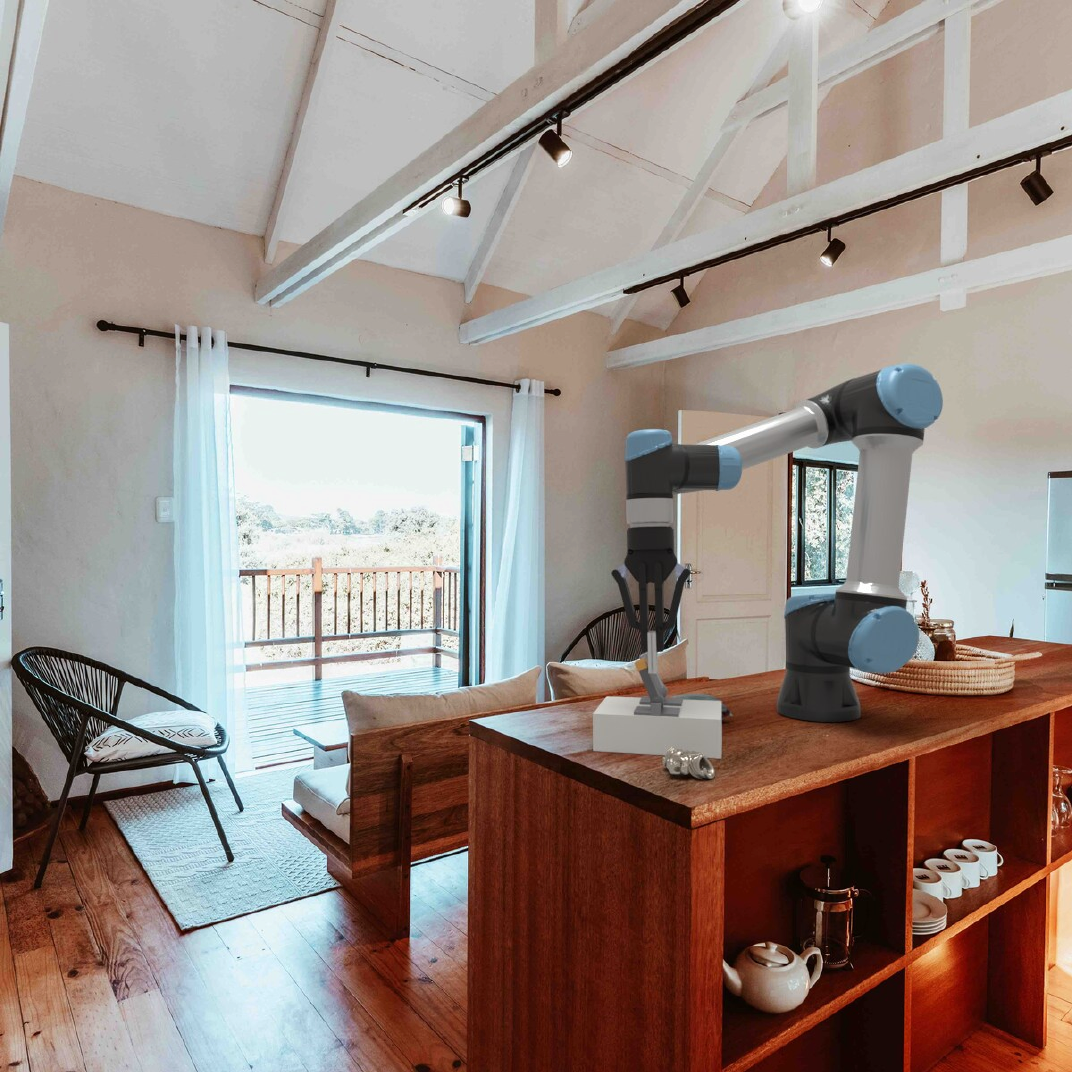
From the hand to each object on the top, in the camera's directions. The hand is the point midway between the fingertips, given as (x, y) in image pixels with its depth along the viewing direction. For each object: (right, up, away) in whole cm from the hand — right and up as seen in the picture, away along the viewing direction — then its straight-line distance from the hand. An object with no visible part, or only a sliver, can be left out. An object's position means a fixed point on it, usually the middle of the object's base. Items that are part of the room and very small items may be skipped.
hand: (653, 671), depth 120 cm
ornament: (+3, -13, -13) cm, 18 cm away
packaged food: (+11, -13, +21) cm, 27 cm away
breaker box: (+2, -13, +4) cm, 13 cm away
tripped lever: (+1, -5, 0) cm, 5 cm away
